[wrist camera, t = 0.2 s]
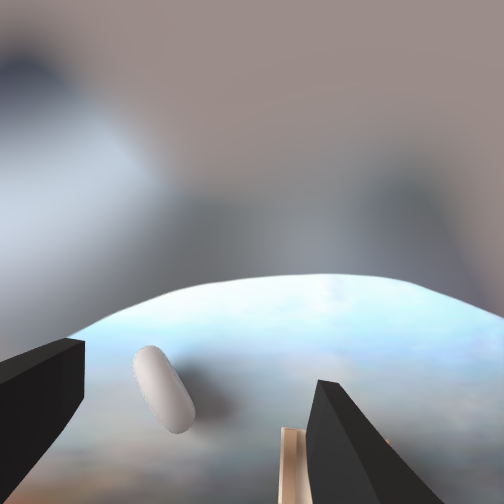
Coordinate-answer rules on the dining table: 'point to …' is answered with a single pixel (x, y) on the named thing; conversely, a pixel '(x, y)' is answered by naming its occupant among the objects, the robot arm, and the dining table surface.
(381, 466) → the robot arm
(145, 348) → the donut
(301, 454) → the beam
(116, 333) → the dining table surface
